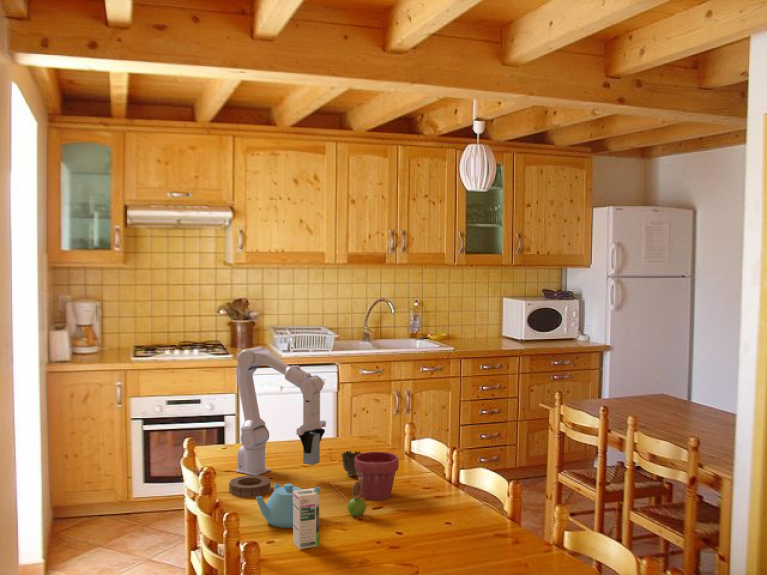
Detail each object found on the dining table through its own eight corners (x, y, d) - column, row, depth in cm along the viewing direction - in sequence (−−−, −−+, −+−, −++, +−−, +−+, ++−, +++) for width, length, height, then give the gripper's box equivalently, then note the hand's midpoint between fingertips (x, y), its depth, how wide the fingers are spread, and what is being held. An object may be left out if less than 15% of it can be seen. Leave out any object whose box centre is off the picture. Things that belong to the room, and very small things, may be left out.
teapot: (252, 526, 215) (252, 489, 215) (274, 509, 230) (274, 474, 229) (301, 533, 211) (301, 495, 210) (321, 515, 225) (321, 479, 225)
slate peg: (303, 463, 257) (303, 434, 256) (310, 460, 260) (310, 432, 260) (312, 465, 255) (313, 436, 254) (319, 462, 258) (319, 433, 258)
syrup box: (299, 550, 199) (299, 496, 198) (292, 542, 204) (292, 489, 204) (319, 546, 201) (319, 493, 200) (312, 539, 207) (312, 486, 206)
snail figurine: (369, 512, 227) (369, 473, 227) (362, 520, 221) (362, 479, 221) (352, 510, 229) (353, 471, 229) (344, 517, 223) (345, 477, 222)
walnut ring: (221, 492, 245) (221, 483, 245) (247, 482, 256) (247, 473, 256) (252, 499, 238) (252, 490, 238) (278, 488, 249) (278, 479, 249)
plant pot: (360, 487, 251) (360, 449, 251) (401, 490, 248) (402, 452, 248) (349, 501, 237) (349, 461, 237) (393, 505, 234) (393, 464, 234)
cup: (364, 473, 267) (364, 450, 267) (361, 479, 260) (361, 456, 259) (343, 472, 268) (343, 450, 268) (340, 478, 261) (340, 455, 260)
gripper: (308, 417, 249) (308, 458, 249) (333, 409, 261) (333, 448, 262) (291, 415, 252) (291, 455, 253) (316, 407, 265) (316, 445, 265)
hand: (311, 451), depth 258 cm, fingers closed on slate peg, 4 cm apart
